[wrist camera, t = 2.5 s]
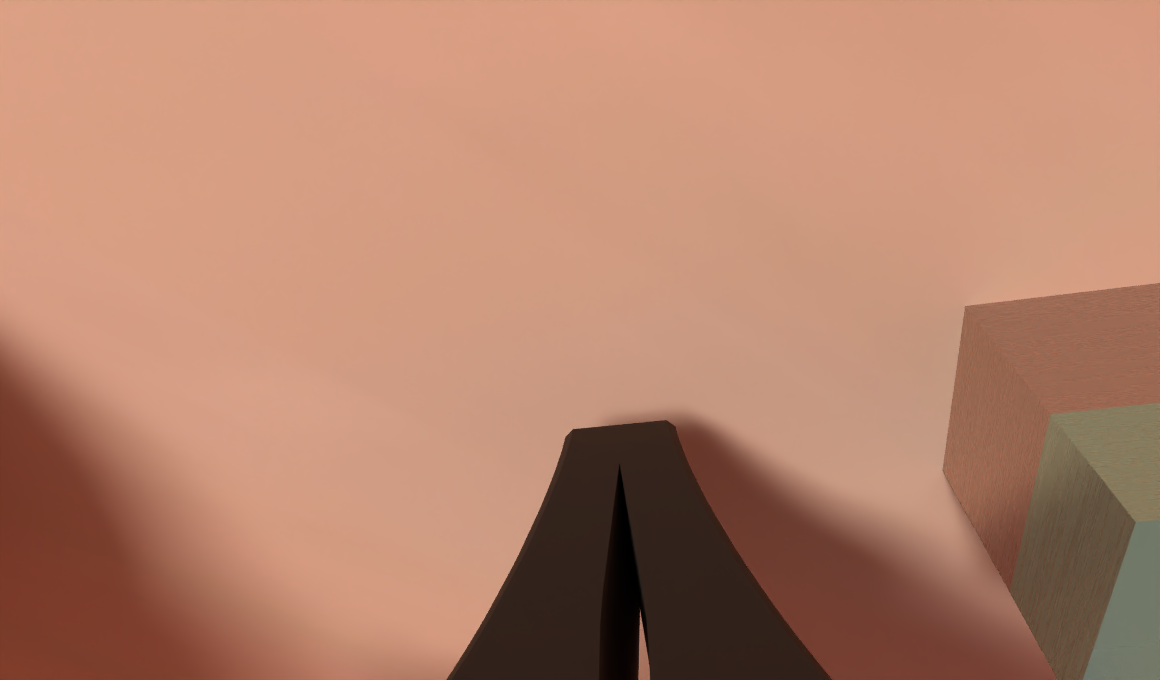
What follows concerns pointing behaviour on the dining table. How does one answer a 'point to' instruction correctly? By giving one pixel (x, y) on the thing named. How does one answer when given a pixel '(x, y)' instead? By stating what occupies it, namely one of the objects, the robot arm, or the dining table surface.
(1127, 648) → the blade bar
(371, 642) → the dining table surface
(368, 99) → the dining table surface
